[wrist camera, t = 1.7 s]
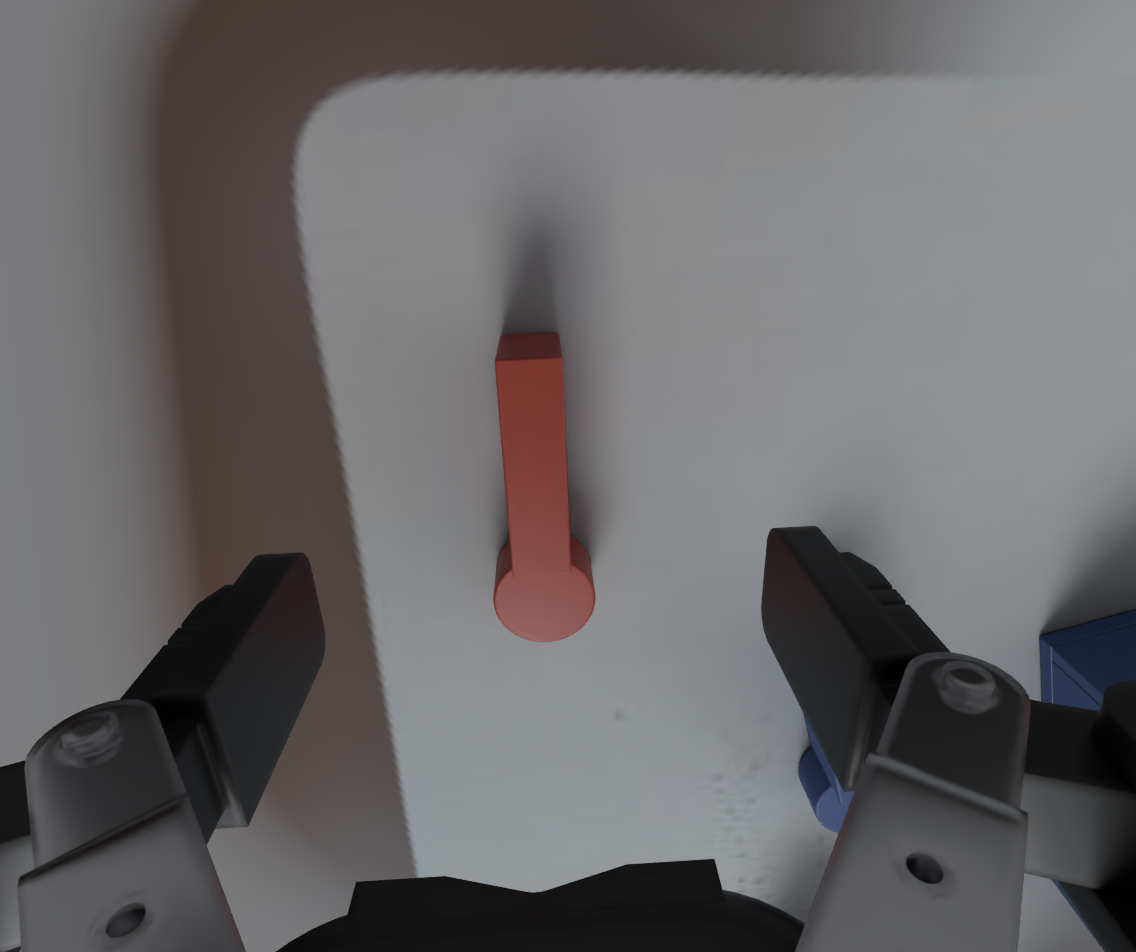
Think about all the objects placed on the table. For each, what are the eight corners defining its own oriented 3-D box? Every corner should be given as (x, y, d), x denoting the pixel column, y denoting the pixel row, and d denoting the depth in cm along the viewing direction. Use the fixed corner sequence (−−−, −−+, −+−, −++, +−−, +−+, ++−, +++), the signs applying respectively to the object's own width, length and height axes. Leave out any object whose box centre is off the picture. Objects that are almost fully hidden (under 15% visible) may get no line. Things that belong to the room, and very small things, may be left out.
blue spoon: (760, 621, 23) (789, 677, 20) (848, 596, 22) (889, 650, 20) (804, 801, 26) (833, 869, 24) (881, 781, 26) (918, 847, 23)
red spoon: (474, 335, 18) (464, 361, 16) (584, 330, 18) (592, 355, 16) (500, 611, 22) (495, 667, 19) (592, 605, 22) (599, 661, 20)
